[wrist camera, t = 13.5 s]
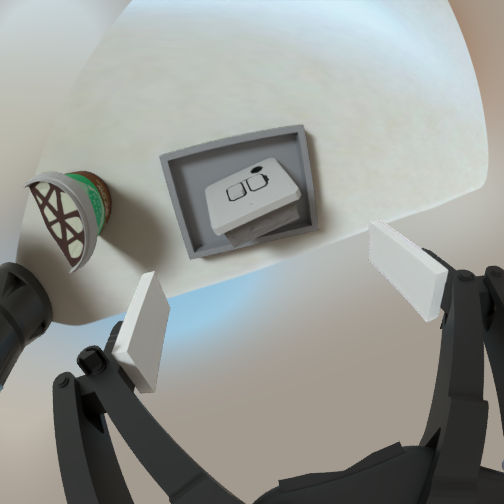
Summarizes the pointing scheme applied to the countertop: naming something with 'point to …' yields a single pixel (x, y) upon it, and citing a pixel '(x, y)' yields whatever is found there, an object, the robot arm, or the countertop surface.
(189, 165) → the back box
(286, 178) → the electrical switch
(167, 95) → the countertop surface
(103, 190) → the food container
